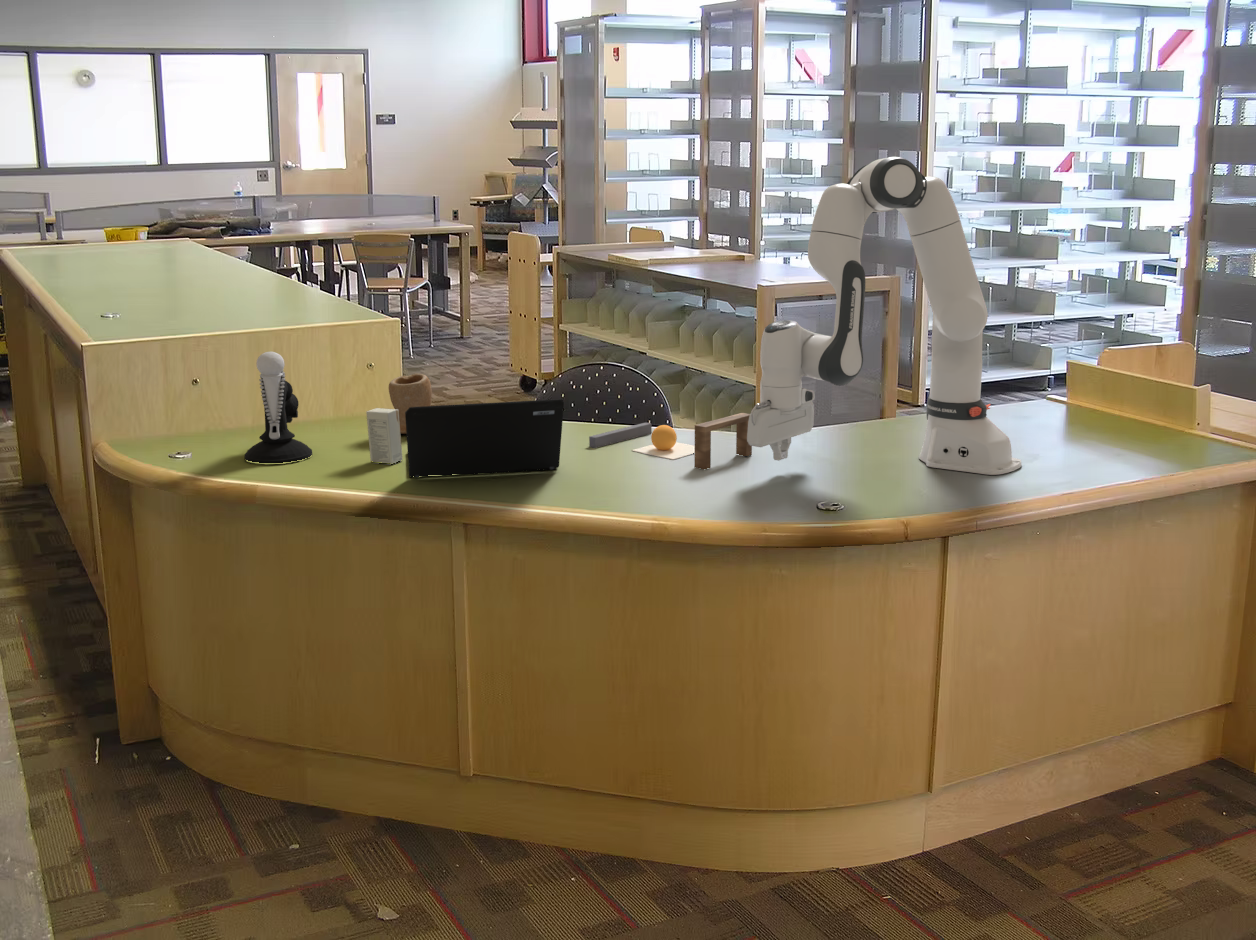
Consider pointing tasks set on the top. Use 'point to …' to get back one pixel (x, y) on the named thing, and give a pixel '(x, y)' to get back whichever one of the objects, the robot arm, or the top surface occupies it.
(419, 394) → the stone cup
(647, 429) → the wall
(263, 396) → the sculpture
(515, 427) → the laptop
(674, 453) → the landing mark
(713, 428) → the bridge
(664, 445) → the ball
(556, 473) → the top surface
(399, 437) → the skincare box
